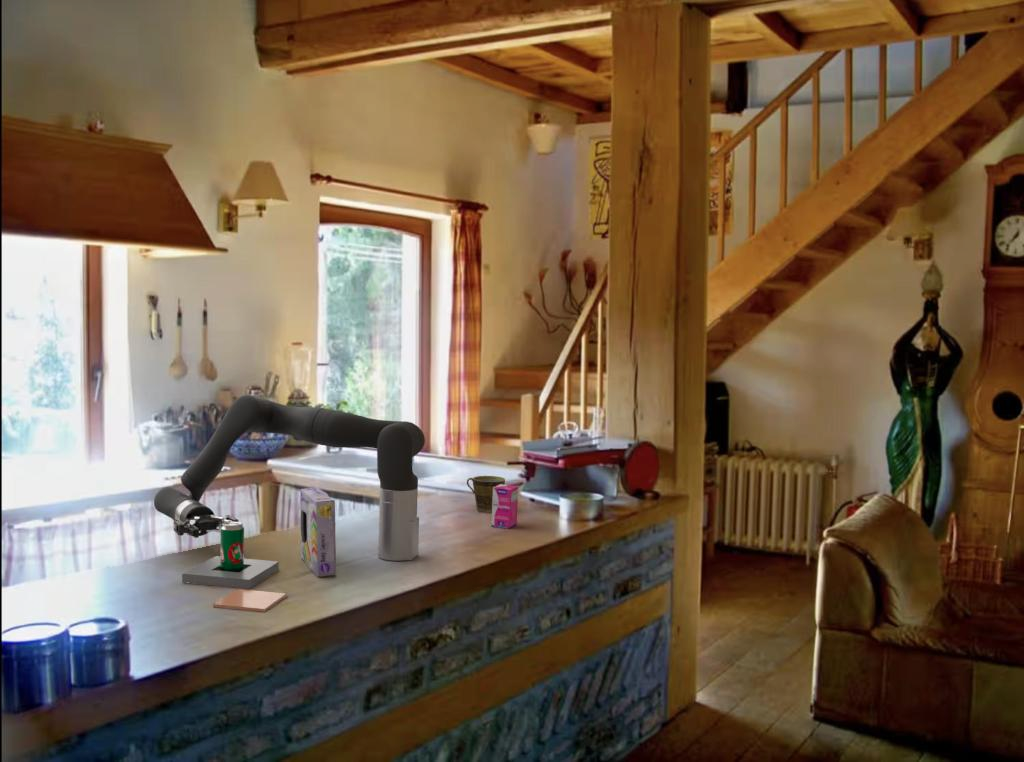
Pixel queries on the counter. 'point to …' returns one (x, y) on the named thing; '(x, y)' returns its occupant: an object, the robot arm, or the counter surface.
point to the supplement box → (504, 506)
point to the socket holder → (230, 573)
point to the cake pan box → (318, 531)
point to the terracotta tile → (250, 600)
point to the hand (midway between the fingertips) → (215, 531)
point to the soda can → (232, 547)
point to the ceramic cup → (485, 491)
